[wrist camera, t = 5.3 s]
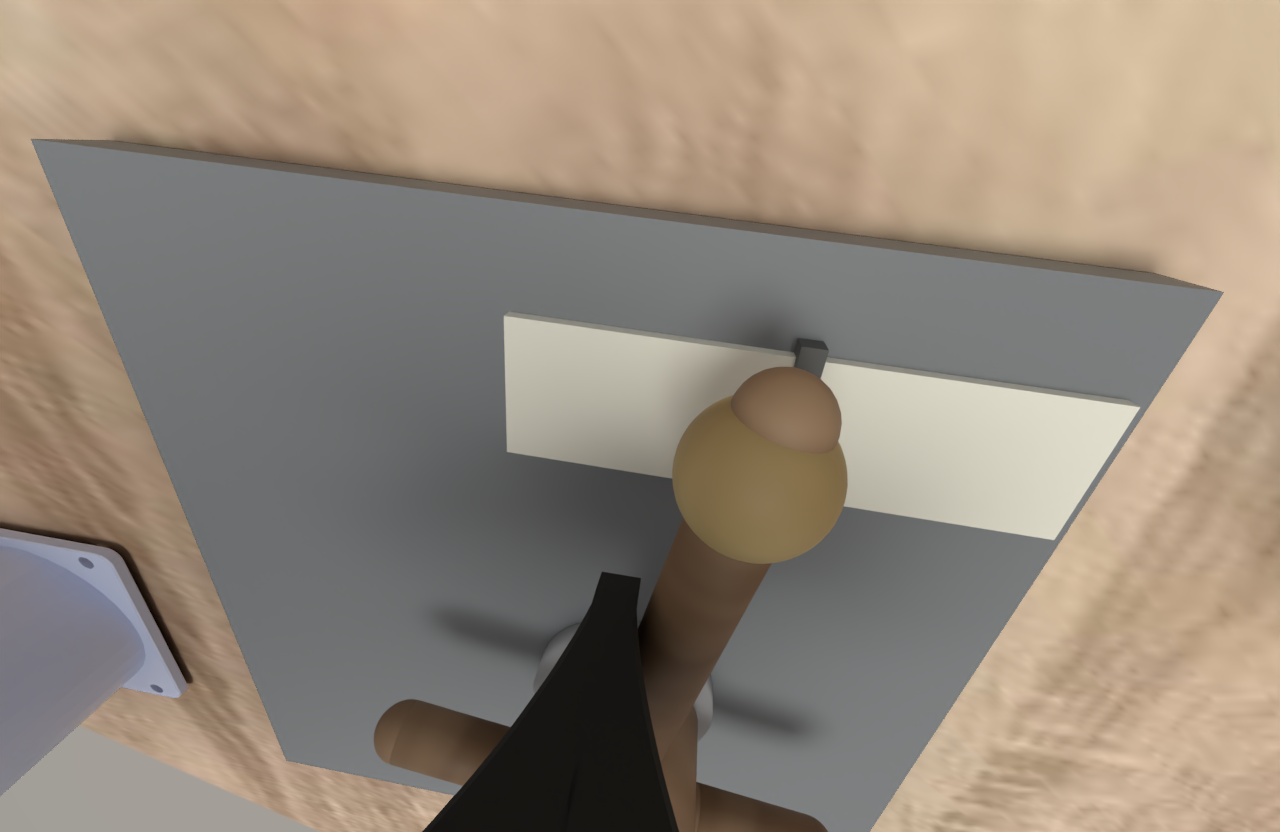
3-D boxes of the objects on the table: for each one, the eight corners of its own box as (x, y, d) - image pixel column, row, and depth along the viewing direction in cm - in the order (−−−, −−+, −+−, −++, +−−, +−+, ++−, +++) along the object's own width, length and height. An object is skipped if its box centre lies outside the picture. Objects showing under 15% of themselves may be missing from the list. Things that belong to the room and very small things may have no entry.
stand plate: (312, 723, 22) (270, 782, 20) (111, 140, 11) (-22, 138, 9) (832, 828, 20) (845, 903, 18) (1154, 273, 10) (1270, 305, 8)
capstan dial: (743, 861, 17) (749, 1000, 14) (408, 763, 17) (348, 885, 14) (1115, 431, 9) (1307, 564, 6) (454, 227, 9) (326, 265, 6)
